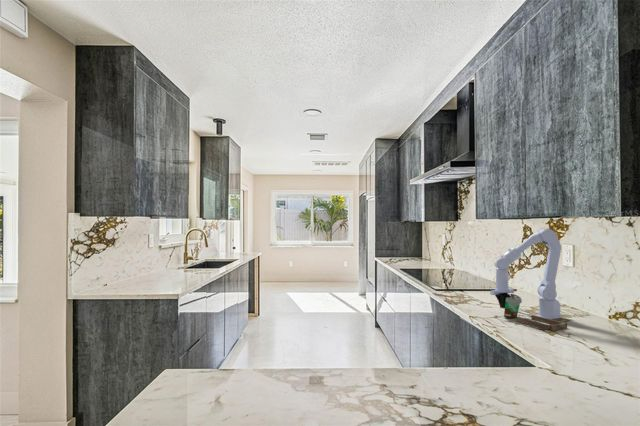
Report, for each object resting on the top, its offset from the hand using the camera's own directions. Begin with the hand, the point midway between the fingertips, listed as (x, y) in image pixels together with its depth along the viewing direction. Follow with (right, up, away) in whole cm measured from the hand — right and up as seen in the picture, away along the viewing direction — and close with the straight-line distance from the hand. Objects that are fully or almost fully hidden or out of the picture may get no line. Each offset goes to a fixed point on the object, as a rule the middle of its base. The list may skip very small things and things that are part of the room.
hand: (502, 307), depth 196 cm
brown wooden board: (+8, -3, -19) cm, 21 cm away
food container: (+2, -3, -5) cm, 7 cm away
